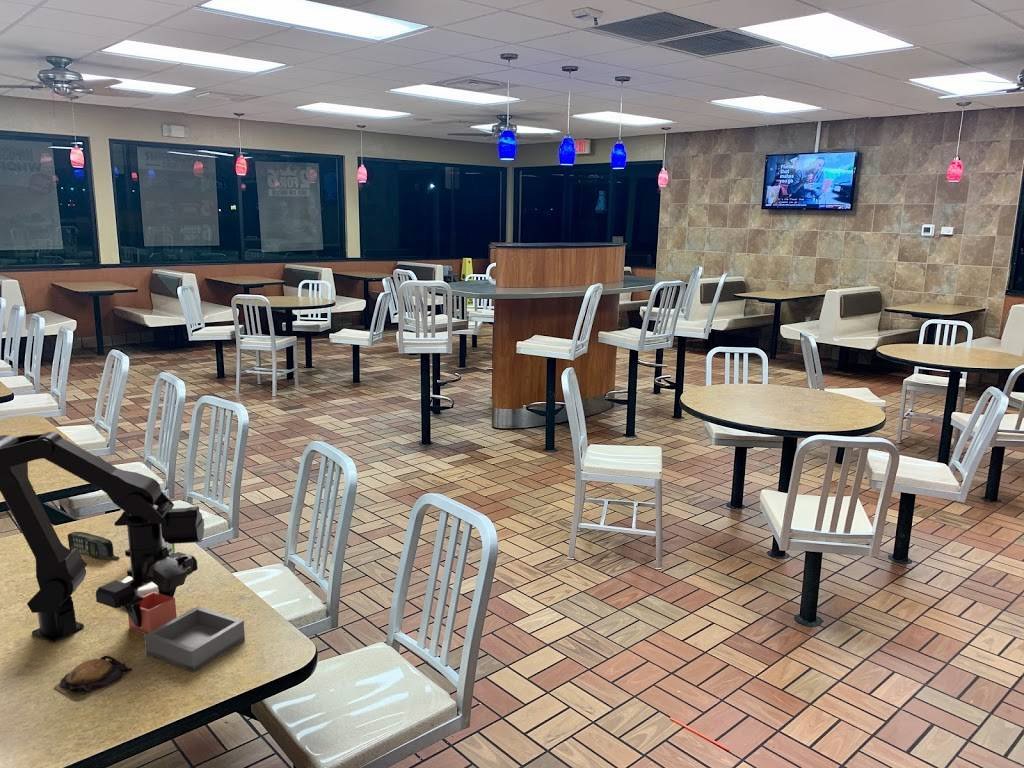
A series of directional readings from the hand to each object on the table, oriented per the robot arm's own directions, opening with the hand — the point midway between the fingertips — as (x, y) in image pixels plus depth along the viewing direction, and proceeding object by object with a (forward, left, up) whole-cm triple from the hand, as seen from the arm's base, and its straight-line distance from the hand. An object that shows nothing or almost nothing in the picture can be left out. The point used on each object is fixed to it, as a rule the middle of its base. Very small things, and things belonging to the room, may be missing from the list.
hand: (152, 618), depth 150 cm
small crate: (0, 0, -1) cm, 1 cm away
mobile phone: (-39, +16, -2) cm, 43 cm away
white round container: (-12, +8, -2) cm, 15 cm away
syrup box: (-26, +22, -1) cm, 34 cm away
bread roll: (+7, -17, -2) cm, 18 cm away
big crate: (+14, -2, -1) cm, 14 cm away
